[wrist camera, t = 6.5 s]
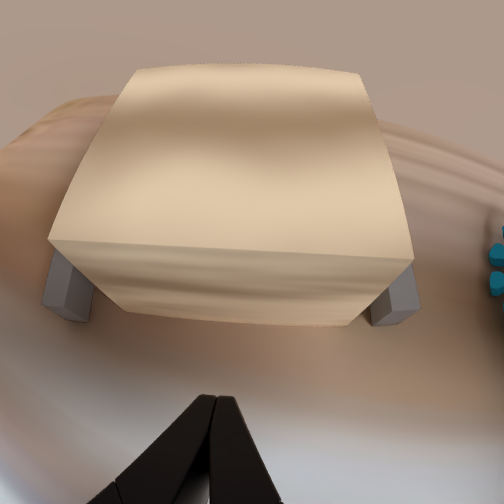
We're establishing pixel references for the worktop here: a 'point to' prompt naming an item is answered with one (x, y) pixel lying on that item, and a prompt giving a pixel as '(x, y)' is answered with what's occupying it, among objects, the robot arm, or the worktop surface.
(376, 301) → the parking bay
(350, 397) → the worktop surface
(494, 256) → the gear
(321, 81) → the oak block
